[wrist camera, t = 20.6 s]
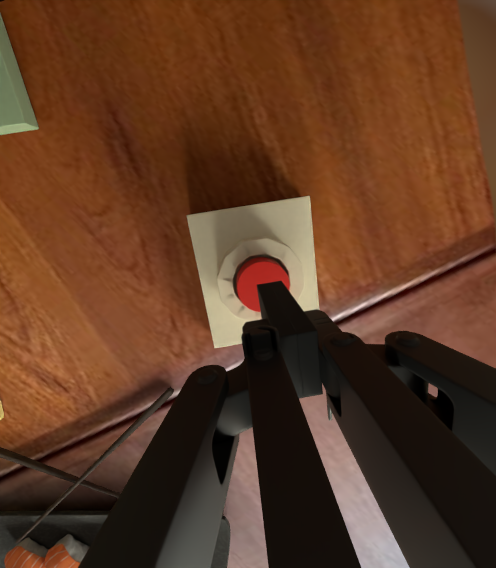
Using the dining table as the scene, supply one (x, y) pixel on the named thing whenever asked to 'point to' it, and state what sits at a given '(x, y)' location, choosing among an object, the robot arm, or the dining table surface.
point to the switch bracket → (13, 91)
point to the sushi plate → (71, 519)
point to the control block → (248, 245)
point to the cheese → (1, 411)
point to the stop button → (258, 279)
